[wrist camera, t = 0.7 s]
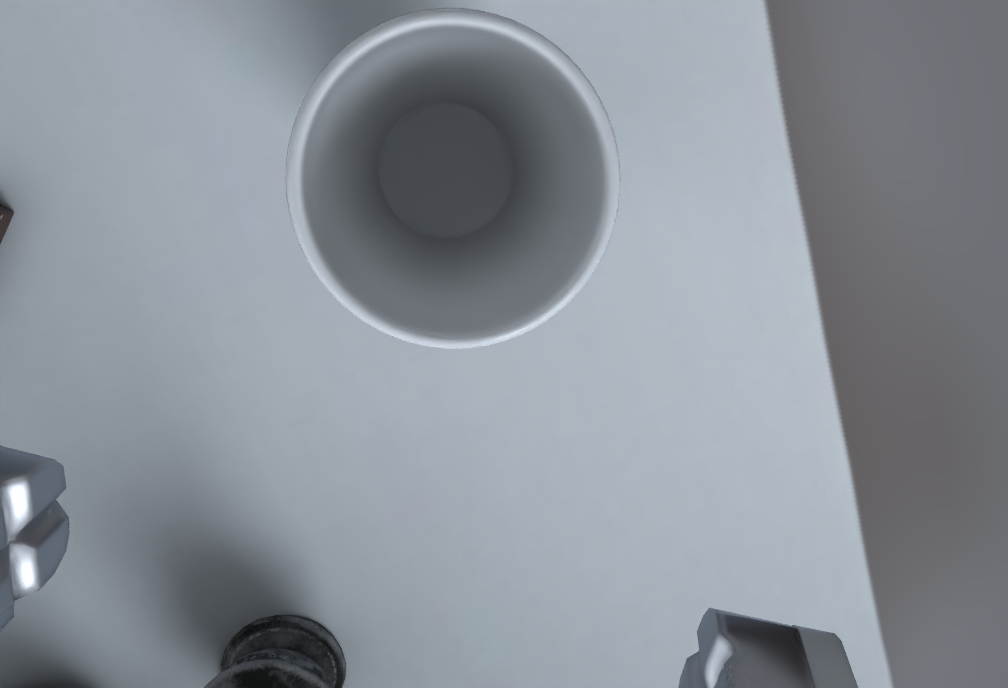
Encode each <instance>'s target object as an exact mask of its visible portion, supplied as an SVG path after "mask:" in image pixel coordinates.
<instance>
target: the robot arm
mask: <svg viewBox="0 0 1008 688" xmlns="http://www.w3.org/2000/svg"><path fill="white" fill-rule="evenodd" d="M65 489H66V482H65V474H64V467H63V465H61V464H60V463H58V462H57V461H56V460H54V459H51V458H47V457H43V456H39V455H35V454H31V453H27V452H23V451H19V450H15V449H11V448H7V447H3V446H0V631H1V630H2V629H3V628H4V627H5V626H6V624H7V623H8V622H9V621H10V620H11V619H12V618H13V617H14V601H15V600H17V599H19V598H22V597H24V596H27V595H29V594H31V593H34V592H36V591H39V590H40V589H41V588H42V587H43V585H44V584H45V583H46V582H47V581H48V580H49V579H50V578H51V577H52V576H53V575H54V573H55V572H56V570H57V568H58V566H59V564H60V562H61V560H62V558H63V556H64V554H65V552H66V549H67V544H68V538H69V533H70V531H69V517H68V515H67V514H66V513H65V511H64V510H63V509H62V507H61V506H60V505H59V503H58V502H57V501H56V499H57V498H58V496H59V495H60V494H61V493H62V492H63V491H64V490H65ZM697 635H698V644H699V652H697V653H695V654H694V655H692V656H690V657H689V658H687V660H686V663H685V666H684V669H683V672H682V675H681V678H680V682H679V688H858V686H857V683H856V680H855V678H854V675H853V672H852V669H851V666H850V664H849V661H848V658H847V655H846V652H845V650H844V647H843V644H842V641H841V640H840V639H839V638H838V637H837V635H836V634H834V633H829V632H825V631H820V630H815V629H810V628H805V627H800V626H795V625H792V626H789V625H786V624H782V623H777V622H772V621H768V620H763V619H759V618H754V617H750V616H745V615H741V614H736V613H731V612H727V611H722V610H718V609H713V608H709V609H708V610H707V611H706V613H705V614H704V615H703V618H702V620H701V623H700V625H699V628H698V630H697Z"/></svg>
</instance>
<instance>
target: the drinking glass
mask: <svg viewBox="0 0 1008 688" xmlns="http://www.w3.org/2000/svg"><path fill="white" fill-rule="evenodd" d="M285 180H286V196H287V202H288V208H289V214H290V217H291V221H292V225H293V229H294V232H295V234H296V237H297V240H298V242H299V245H300V247H301V249H302V251H303V253H304V255H305V257H306V259H307V261H308V263H309V264H310V266H311V268H312V269H313V271H314V273H315V274H316V276H317V277H318V278H319V280H320V281H321V282H322V284H323V285H324V286H325V288H326V289H327V290H328V291H329V292H330V293H331V294H332V295H333V296H334V297H335V299H336V300H337V301H339V302H340V303H341V304H342V305H343V306H344V307H345V308H346V309H347V310H349V311H350V312H351V313H353V314H354V315H355V316H357V317H358V318H359V319H361V320H362V321H364V322H365V323H367V324H369V325H370V326H372V327H373V328H375V329H377V330H379V331H381V332H383V333H385V334H387V335H390V336H392V337H395V338H398V339H400V340H403V341H406V342H410V343H414V344H417V345H422V346H428V347H434V348H445V349H466V348H475V347H483V346H487V345H492V344H497V343H500V342H503V341H506V340H509V339H512V338H515V337H517V336H519V335H522V334H524V333H526V332H528V331H530V330H532V329H534V328H536V327H537V326H539V325H541V324H542V323H544V322H545V321H547V320H548V319H550V318H551V317H553V316H554V315H555V314H556V313H558V312H559V311H560V310H561V309H562V308H564V307H565V306H566V305H567V304H568V303H569V302H570V301H571V300H572V299H573V298H574V297H575V296H576V295H577V294H578V292H579V291H580V290H581V289H582V288H583V286H584V285H585V284H586V283H587V281H588V280H589V278H590V277H591V275H592V274H593V273H594V271H595V269H596V268H597V266H598V264H599V262H600V260H601V259H602V257H603V255H604V252H605V250H606V248H607V245H608V243H609V241H610V237H611V234H612V231H613V228H614V225H615V220H616V216H617V212H618V204H619V197H620V164H619V156H618V150H617V144H616V140H615V136H614V132H613V129H612V126H611V123H610V120H609V118H608V115H607V112H606V110H605V108H604V106H603V104H602V102H601V100H600V98H599V96H598V94H597V93H596V91H595V89H594V88H593V86H592V84H591V83H590V82H589V80H588V79H587V78H586V76H585V75H584V73H583V72H582V71H581V70H580V68H579V67H578V66H577V65H576V64H575V63H574V62H573V61H572V60H571V58H570V57H569V56H567V55H566V54H565V53H564V52H563V51H562V50H561V49H560V48H559V47H557V46H556V45H555V44H554V43H552V42H551V41H549V40H548V39H547V38H545V37H544V36H543V35H541V34H539V33H538V32H536V31H534V30H532V29H531V28H529V27H527V26H525V25H523V24H521V23H518V22H516V21H514V20H512V19H509V18H506V17H503V16H500V15H497V14H493V13H489V12H485V11H480V10H473V9H464V8H439V9H428V10H423V11H417V12H412V13H409V14H405V15H402V16H399V17H396V18H393V19H391V20H388V21H386V22H384V23H381V24H379V25H377V26H375V27H374V28H372V29H370V30H368V31H366V32H365V33H363V34H361V35H360V36H359V37H357V38H356V39H354V40H353V41H352V42H350V43H349V44H348V45H347V46H345V47H344V48H343V49H342V50H341V51H340V52H339V53H338V54H336V55H335V57H334V58H333V59H332V60H331V61H330V62H329V63H328V64H327V65H326V66H325V67H324V69H323V70H322V71H321V73H320V74H319V75H318V77H317V78H316V79H315V81H314V82H313V84H312V86H311V87H310V89H309V91H308V92H307V94H306V96H305V98H304V100H303V102H302V104H301V106H300V108H299V111H298V113H297V116H296V119H295V122H294V125H293V127H292V131H291V136H290V140H289V144H288V151H287V158H286V177H285Z"/></svg>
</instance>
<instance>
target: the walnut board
mask: <svg viewBox="0 0 1008 688" xmlns="http://www.w3.org/2000/svg"><path fill="white" fill-rule="evenodd" d="M13 214H14V212H13V211H11V210H9V209H7V208H5V207H3V206H1V205H0V243H1V241H2V239H3V236H4V234H5V232H6V230H7V227H8V225H9V223H10V220H11V218H12V216H13Z"/></svg>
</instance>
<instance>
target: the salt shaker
mask: <svg viewBox="0 0 1008 688" xmlns="http://www.w3.org/2000/svg"><path fill="white" fill-rule="evenodd" d="M345 672H346V662H345V659H344V655H343V652H342V649H341V647H340V646H339V644H338V643H337V641H336V639H335V638H334V636H332V635H331V634H330V633H329V632H328V631H327V630H326V629H324V628H323V627H322V626H320V625H318V624H316V623H314V622H312V621H310V620H308V619H304V618H300V617H296V616H272V617H267V618H263V619H259V620H257V621H255V622H253V623H251V624H249V625H247V626H245V627H244V628H243V629H242V630H241V631H240V632H238V633H237V634H236V635H235V636H234V637H233V639H232V640H231V642H230V643H229V645H228V646H227V648H226V650H225V652H224V656H223V660H222V663H221V673H219V674H218V675H217V676H216V677H215V678H213V679H212V680H211V681H210V682H209V683H208V684H207V685H206V686H205V687H204V688H342V686H343V683H344V680H345Z"/></svg>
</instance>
